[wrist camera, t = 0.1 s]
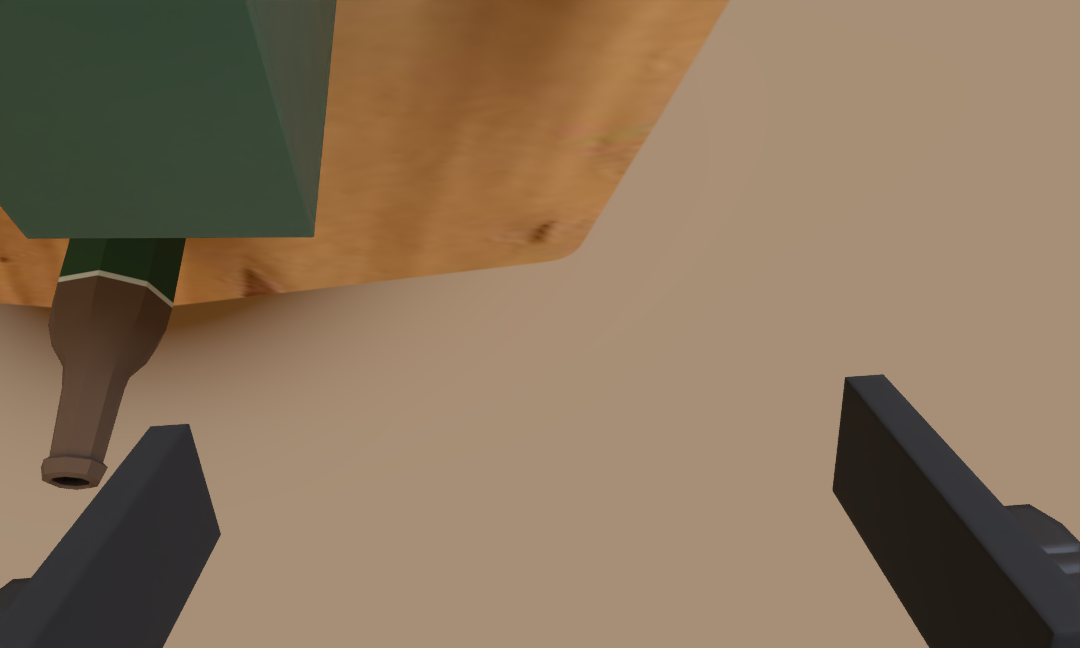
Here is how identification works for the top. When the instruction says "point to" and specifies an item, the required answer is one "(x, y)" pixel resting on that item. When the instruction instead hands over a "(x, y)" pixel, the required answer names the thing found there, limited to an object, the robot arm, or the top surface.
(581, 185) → the top surface
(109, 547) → the robot arm
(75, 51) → the green open cabinet
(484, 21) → the top surface
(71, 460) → the beer bottle
